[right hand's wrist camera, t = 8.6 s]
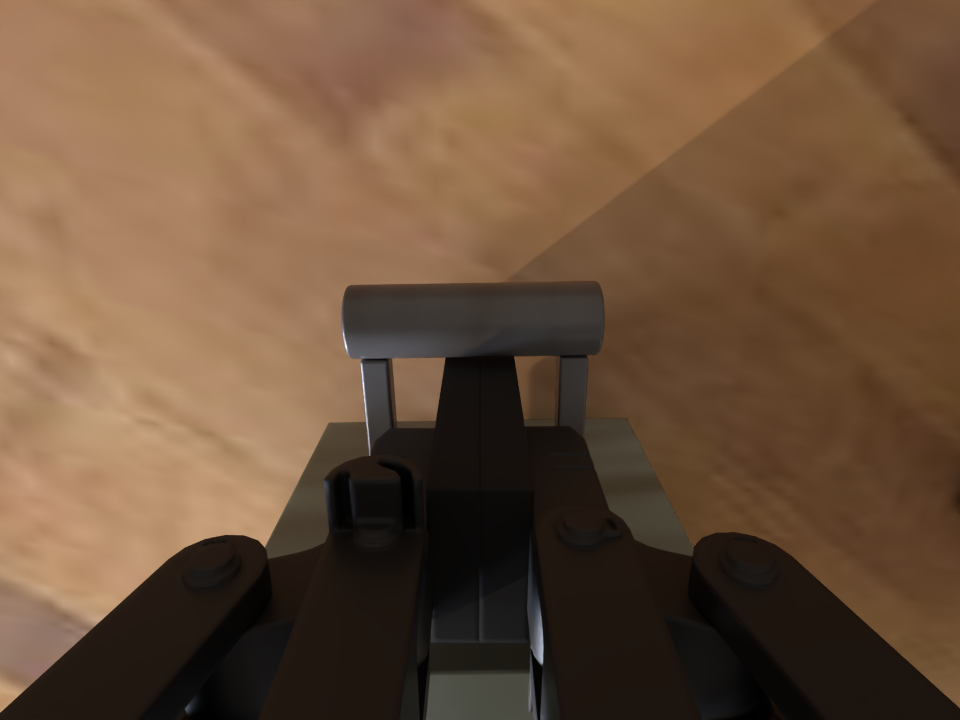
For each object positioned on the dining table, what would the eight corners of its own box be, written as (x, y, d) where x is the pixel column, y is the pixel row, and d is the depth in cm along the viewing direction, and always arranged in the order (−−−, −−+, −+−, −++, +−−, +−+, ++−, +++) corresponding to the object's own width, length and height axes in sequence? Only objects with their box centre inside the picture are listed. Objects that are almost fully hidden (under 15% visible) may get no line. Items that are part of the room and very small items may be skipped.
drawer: (306, 248, 16) (120, 377, 8) (642, 243, 16) (819, 366, 8) (369, 762, 23) (309, 1112, 15) (599, 758, 23) (665, 1109, 15)
